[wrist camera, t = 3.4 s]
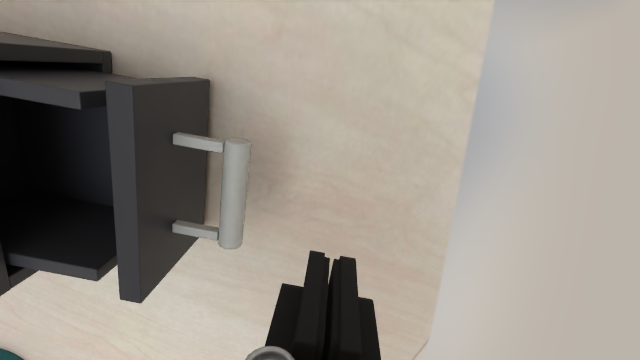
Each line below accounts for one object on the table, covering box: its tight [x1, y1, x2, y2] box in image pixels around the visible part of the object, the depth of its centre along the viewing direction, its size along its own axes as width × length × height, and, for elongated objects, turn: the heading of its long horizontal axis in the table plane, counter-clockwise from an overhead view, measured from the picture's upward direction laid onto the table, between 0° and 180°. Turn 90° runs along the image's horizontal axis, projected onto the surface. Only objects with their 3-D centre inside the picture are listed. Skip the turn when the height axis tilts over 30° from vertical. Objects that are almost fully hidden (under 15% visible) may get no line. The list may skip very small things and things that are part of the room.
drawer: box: [0, 61, 251, 303], centre depth 18 cm, size 18×11×8 cm, turn 80°
